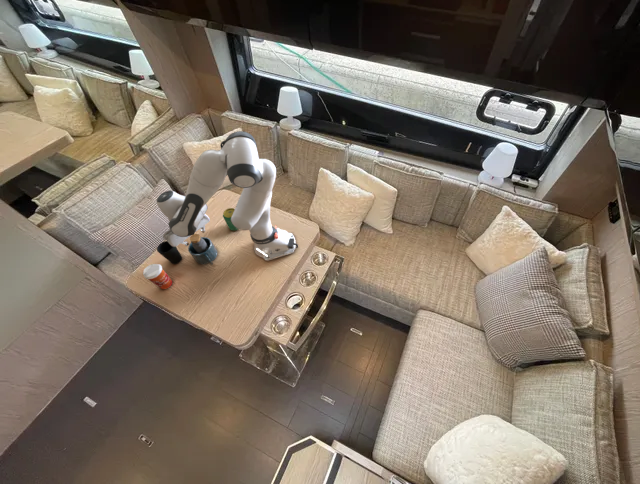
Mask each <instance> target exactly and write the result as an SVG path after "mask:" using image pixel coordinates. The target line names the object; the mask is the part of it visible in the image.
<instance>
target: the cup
mask: <svg viewBox="0 0 640 484" xmlns="http://www.w3.org/2000/svg"><path fill="white" fill-rule="evenodd" d="M156 252H157V253H159V255H161V256H162V257H163V258H164V259H166V260H167V261H168V262H169V263H170V264H173V265H177V264H179V263H180V262H182V261H183V256H182V254H181V252H180V251H179V250H178V248H177V247H173V246H171V245H170V244H169V243H168V241H167V240H165V241H162V242H160V243H159V244H158V245H157V247H156Z"/></svg>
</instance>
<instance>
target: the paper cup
mask: <svg viewBox="0 0 640 484" xmlns="http://www.w3.org/2000/svg"><path fill="white" fill-rule="evenodd" d="M142 274H143V275H142V276H143V278H144V279H146V280H149V281H150V282H151V283H153V284H154V285H155V286H157V287H158V288H160V289H161V290H167V289H169V288H171V286H172V285H173V280H172V279H171V277H170V276H169V275H168V274H167V273H166V271H165V270H164V269H163V266H162V264H159V263H152V264H149V265H147V266H146V267H145V268H144V269H143V270H142Z"/></svg>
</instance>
